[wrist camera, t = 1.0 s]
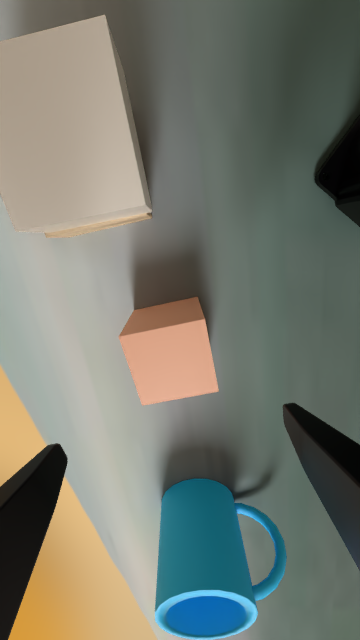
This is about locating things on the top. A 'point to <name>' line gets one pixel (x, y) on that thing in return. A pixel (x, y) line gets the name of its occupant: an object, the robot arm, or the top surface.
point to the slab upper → (67, 130)
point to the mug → (208, 563)
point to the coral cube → (169, 351)
